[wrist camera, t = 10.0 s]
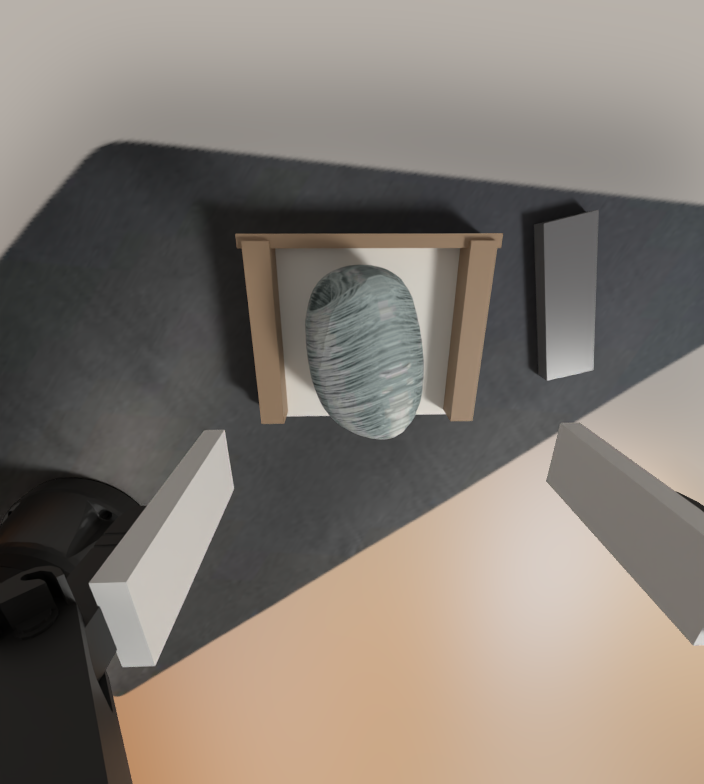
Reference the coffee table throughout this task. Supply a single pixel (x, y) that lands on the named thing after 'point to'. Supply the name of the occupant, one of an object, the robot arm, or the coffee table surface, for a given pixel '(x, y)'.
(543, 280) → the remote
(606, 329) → the coffee table surface
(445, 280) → the shelf bay
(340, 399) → the grey streaked oval piece
